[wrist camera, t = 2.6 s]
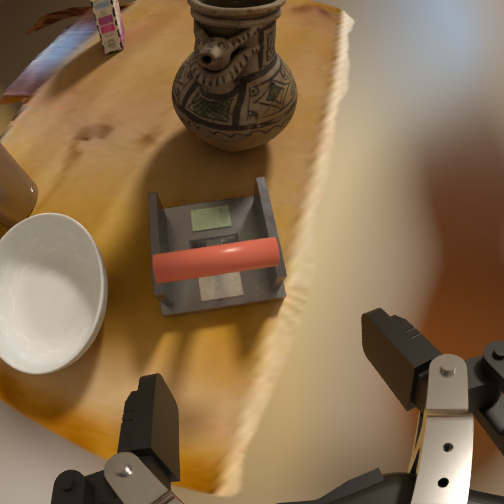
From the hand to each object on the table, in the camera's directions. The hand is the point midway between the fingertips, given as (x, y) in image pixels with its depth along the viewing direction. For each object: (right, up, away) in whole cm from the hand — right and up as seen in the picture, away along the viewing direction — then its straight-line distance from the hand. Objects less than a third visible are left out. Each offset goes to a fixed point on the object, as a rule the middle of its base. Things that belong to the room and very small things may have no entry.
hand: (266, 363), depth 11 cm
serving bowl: (-28, -3, +26) cm, 38 cm away
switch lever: (-5, +5, +26) cm, 26 cm away
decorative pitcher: (-3, +24, +37) cm, 44 cm away
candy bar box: (-34, +55, +47) cm, 80 cm away
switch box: (-5, +4, +29) cm, 30 cm away
